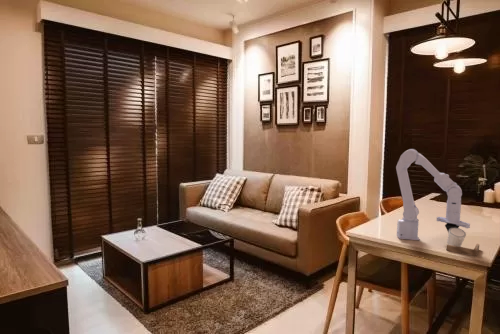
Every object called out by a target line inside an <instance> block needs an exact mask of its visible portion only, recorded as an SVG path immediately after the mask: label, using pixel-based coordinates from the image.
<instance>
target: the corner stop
mask: <svg viewBox="0 0 500 334" xmlns="http://www.w3.org/2000/svg"><path fill="white" fill-rule="evenodd" d="M446 251H449V252H452V253H458V254H463V255H467V256H472V257H477V256H478V252H479V251H480V244H479V243H476V244H475V247H474V248H469V247H464V246H461V247H459V246H453V245H448V244H446Z"/></svg>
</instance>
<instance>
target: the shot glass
mask: <svg viewBox="0 0 500 334" xmlns="http://www.w3.org/2000/svg"><path fill="white" fill-rule="evenodd" d="M447 233H448V234H447V239H446V240H447V241H446V243H447V244H448V245H453V246H459V247H462V245H463V242H464V240H465V238H466V236H467V232H466V231H465V230H463V229H462V228H460V227H459V228H450V229H449V232H448V231H447ZM447 244H446V245H447Z"/></svg>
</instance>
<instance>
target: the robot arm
mask: <svg viewBox="0 0 500 334" xmlns="http://www.w3.org/2000/svg"><path fill="white" fill-rule="evenodd" d="M412 163H414V164H415V165H418V166H422V167H423V168H424V169H425V170H426V171H427V172H428V173H429V174H431V176H432V177H434V178H433V181H434V183H436V184H437V186H439V187H440V189H442V191H444V192H445V193H446V195H447V200H446V207H445V208H446V210H445V217H443V216H437V217H436V222H441V223H445V225H444V228H446V231H447V233H448V232H449V229H450V228H459V229H460V227H462V228H465V229H470V228H471V223H468V222H467V221H466V222H465V221H462V220H461V213H462V212H461V211H462V210H461V209H462V196H463V191H462V188H461V186H460V185H458V183H457V182H455V181H453V180H452V178H450V175H449V174H447V173H445V172H440V171H439V170H438V169H437V168H436V167H435V166H434V165H433V164H432V163H431V162H430V160H428V159H427V158H426V157H425V156H424V155H423V154H422V153H420V152H418V151H417V150H416V149H415V148H409V149H407V150H405V151H404V152H402V154H401V155H400V157H399V159H398V161H397V164H396V166H395V169H396V170H395V171H396V174H397V179H398V184H399V189H400V193H401V197H402V198H401V199H402V202H403V203H402V204H403V205H402V206H403V211H402V216H403V217H402V219H397V223H396V236H397V237H398V239H399V240H400V239H402V240H413V241H420V240H421V239H420V238H419V236H418V235H419V224H420V223H419V219H418V215H419V214H420V211H419V208H418V207H417V205H416V203H415V200H414V196H413V190H412V185H411V182H410V177H409V173H408V168H409V167H411V164H412Z"/></svg>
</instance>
